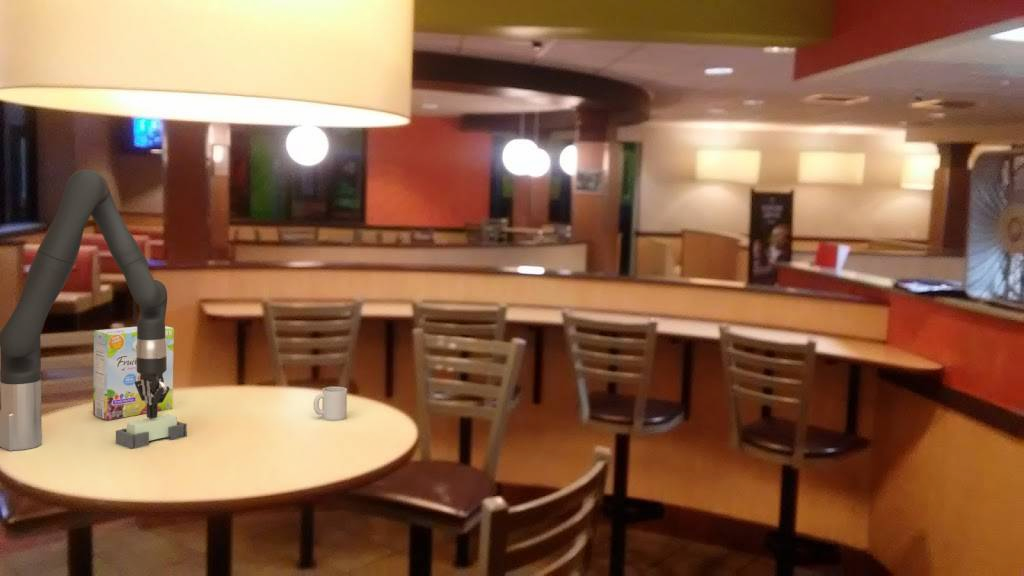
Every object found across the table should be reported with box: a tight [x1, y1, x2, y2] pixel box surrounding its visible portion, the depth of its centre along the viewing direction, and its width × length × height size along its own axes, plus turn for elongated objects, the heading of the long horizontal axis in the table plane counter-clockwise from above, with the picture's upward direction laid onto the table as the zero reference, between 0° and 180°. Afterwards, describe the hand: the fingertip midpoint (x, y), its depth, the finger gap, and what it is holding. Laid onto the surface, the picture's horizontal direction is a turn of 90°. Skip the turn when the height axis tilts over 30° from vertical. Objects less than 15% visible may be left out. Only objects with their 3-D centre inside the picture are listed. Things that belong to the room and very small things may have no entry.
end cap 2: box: [163, 420, 188, 441], centre depth 252 cm, size 5×7×4 cm
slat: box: [125, 414, 178, 442], centre depth 247 cm, size 12×4×5 cm, turn 144°
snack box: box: [92, 325, 175, 421], centre depth 273 cm, size 22×9×26 cm, turn 143°
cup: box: [313, 386, 348, 422], centre depth 276 cm, size 7×10×9 cm
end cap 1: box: [115, 428, 150, 450], centre depth 242 cm, size 5×7×4 cm
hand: (152, 417), depth 247 cm, fingers closed
